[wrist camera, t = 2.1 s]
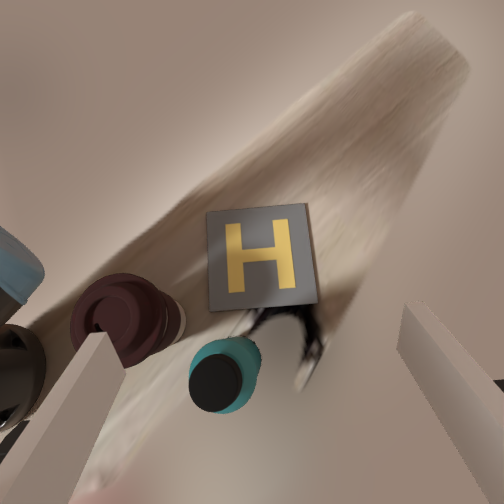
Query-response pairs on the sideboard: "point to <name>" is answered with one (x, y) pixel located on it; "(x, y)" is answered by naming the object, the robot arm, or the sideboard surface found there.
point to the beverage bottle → (224, 374)
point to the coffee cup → (128, 317)
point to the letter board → (259, 258)
